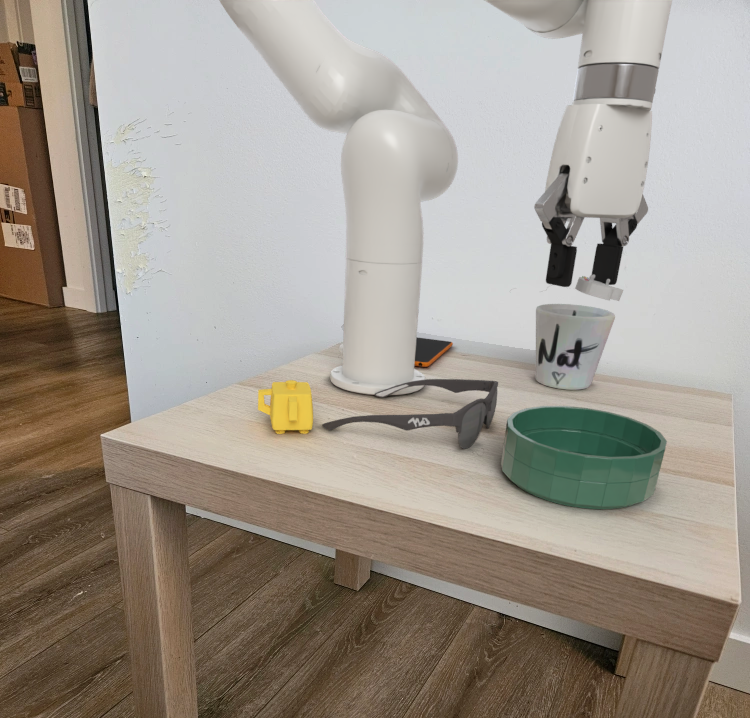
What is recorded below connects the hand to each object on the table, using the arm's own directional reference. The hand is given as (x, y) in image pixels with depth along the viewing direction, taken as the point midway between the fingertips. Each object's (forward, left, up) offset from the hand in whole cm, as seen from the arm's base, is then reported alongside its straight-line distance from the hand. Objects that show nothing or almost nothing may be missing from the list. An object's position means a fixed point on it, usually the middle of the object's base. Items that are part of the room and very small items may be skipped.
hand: (581, 282), depth 73 cm
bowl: (+14, -11, -16) cm, 24 cm away
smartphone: (-33, +1, -16) cm, 36 cm away
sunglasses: (-5, -17, -16) cm, 24 cm away
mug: (-14, +14, -16) cm, 25 cm away
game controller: (0, -2, -2) cm, 2 cm away
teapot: (-9, -31, -16) cm, 36 cm away
